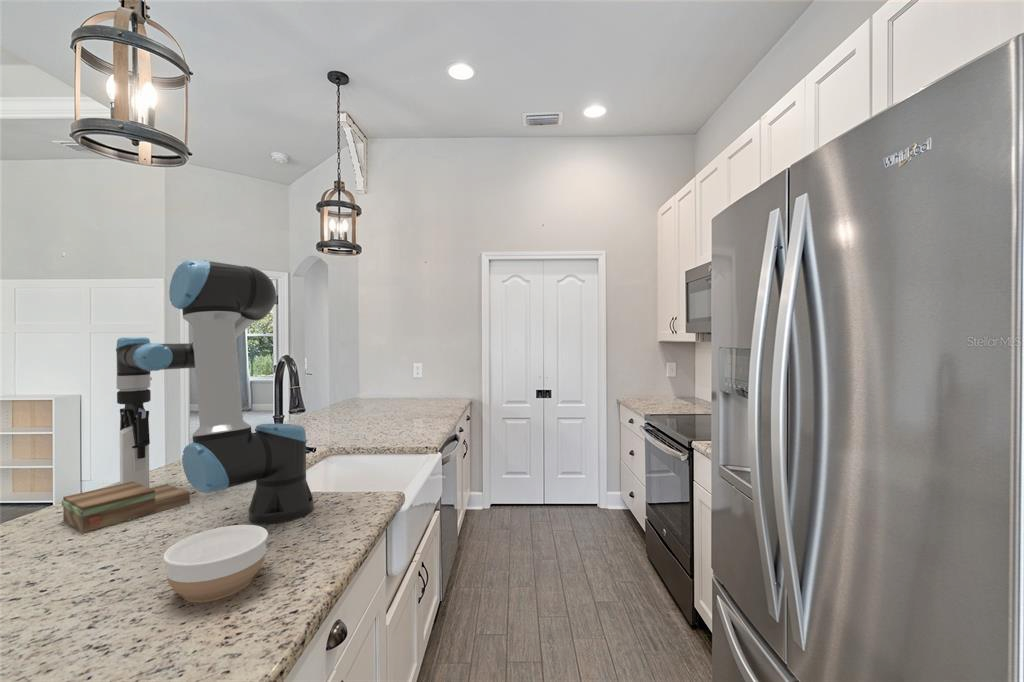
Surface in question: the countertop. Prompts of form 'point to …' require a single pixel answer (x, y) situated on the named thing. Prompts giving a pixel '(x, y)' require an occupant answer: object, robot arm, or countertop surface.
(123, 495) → the stand
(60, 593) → the countertop surface
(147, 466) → the milk
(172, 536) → the countertop surface
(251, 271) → the robot arm
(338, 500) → the countertop surface
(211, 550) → the bowl
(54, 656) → the countertop surface
